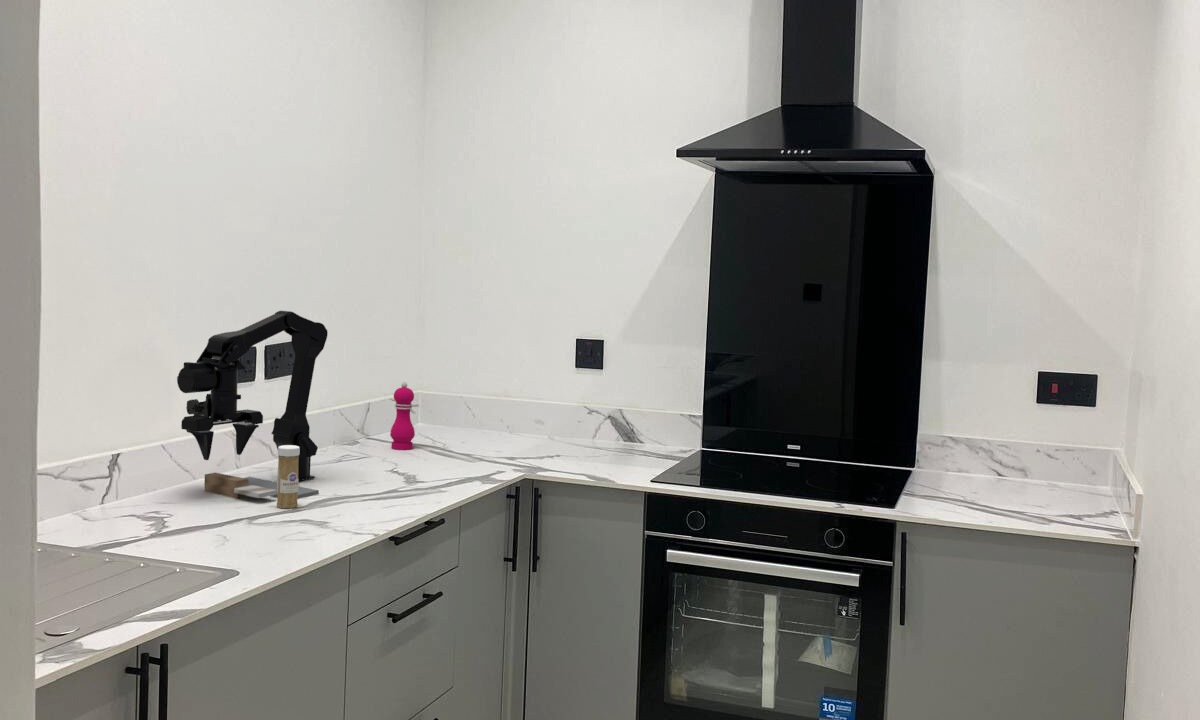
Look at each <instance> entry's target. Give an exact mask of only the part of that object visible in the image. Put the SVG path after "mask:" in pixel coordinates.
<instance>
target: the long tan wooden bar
mask: <svg viewBox="0 0 1200 720" xmlns="http://www.w3.org/2000/svg"><path fill="white" fill-rule="evenodd" d="M245 478H246V477H240V476H235V475H229V474H224V473H221V472H212V473H211V472H210V473H205V474H204V486H203V487H204V488H203V489H204V492H206V493H212V494H216V495H221V496H226V497H230V498H235V499H240V497H241V498H245V496H246V497H251V498H256V499H261V498H267V497H272V495H276V494H277V490H274V489H269V488H264V487H259V486H254V485H249V486H248V479H245Z"/></svg>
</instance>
